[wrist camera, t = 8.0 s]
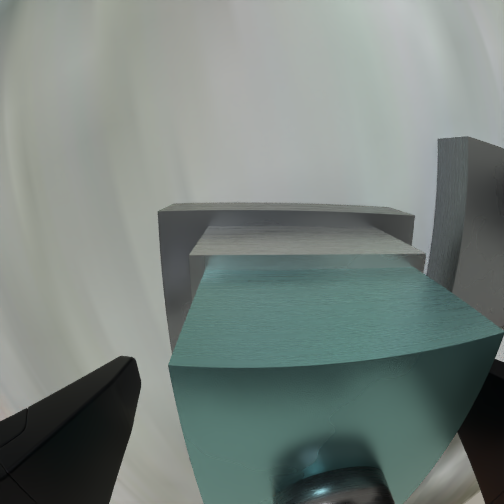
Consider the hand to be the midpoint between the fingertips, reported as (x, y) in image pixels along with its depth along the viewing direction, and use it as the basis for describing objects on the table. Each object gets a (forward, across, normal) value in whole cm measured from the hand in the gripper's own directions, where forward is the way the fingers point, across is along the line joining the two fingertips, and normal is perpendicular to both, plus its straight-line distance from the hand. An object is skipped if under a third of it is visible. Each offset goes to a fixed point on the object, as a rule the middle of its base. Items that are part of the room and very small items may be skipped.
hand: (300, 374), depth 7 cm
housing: (+2, 0, 0) cm, 2 cm away
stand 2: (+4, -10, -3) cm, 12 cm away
